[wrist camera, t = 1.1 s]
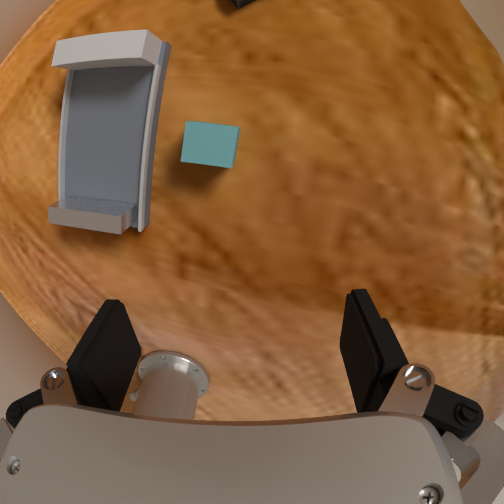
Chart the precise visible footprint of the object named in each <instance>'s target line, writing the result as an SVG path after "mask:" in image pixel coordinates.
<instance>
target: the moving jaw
mask: <svg viewBox="0 0 504 504" xmlns="http://www.w3.org/2000/svg"><path fill="white" fill-rule="evenodd" d="M48 216H49V223H52V224H58V225H64V226H70V227H77V228H83V229H89V230H96V231H102V232H108V233H115V234H122V233H123V232H124V231H125V230H126V229H127V228H129V227H130V226H131V225H132V224H133V223H134V222H135V221H136V204H131V203H123V202H115V201H106V200H98V199H89V198H80V197H71V196H67V197H65V198H63V199H61V200H59V201H57V202H56V203H54V204H52V205H50V206H48Z"/></svg>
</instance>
